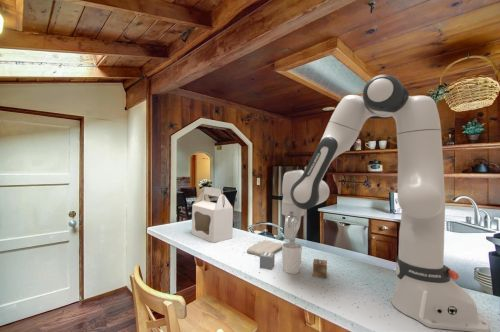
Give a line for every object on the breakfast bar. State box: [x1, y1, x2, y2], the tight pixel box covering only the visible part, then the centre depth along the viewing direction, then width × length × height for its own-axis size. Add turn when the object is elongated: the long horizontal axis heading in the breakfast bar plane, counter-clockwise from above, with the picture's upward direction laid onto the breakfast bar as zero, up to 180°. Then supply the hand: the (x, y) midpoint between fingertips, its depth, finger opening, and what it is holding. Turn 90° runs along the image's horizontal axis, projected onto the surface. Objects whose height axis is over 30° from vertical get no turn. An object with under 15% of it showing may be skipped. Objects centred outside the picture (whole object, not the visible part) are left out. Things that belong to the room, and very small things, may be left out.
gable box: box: [191, 186, 234, 244], centre depth 141 cm, size 22×13×28 cm, turn 44°
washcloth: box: [246, 239, 283, 257], centre depth 120 cm, size 12×18×3 cm, turn 148°
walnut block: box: [312, 258, 328, 279], centre depth 95 cm, size 5×5×5 cm
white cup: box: [281, 241, 303, 275], centre depth 98 cm, size 8×8×10 cm
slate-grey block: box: [259, 252, 276, 271], centre depth 101 cm, size 5×5×5 cm
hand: (292, 244), depth 98 cm, fingers closed
